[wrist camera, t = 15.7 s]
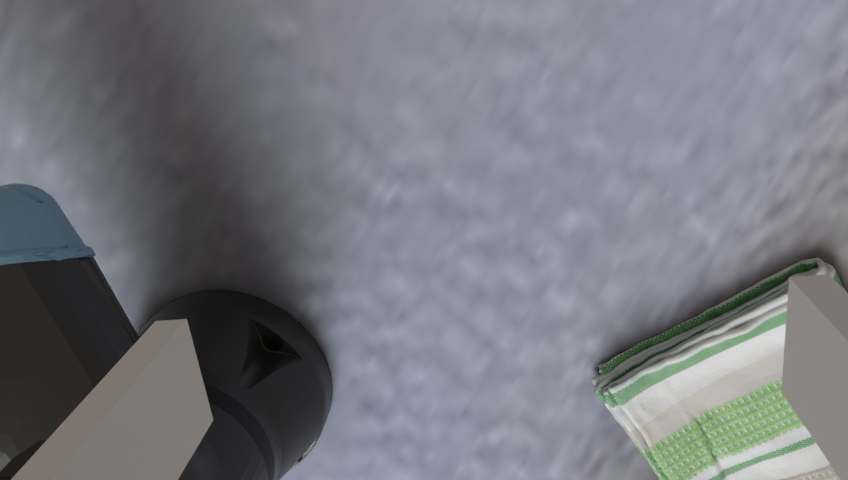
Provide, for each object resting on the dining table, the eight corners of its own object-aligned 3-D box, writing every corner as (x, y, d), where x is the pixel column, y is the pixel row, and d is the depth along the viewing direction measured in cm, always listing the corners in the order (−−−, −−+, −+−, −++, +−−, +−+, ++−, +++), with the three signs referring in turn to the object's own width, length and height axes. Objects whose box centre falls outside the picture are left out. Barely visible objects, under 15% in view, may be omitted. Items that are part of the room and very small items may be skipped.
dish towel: (820, 244, 46) (843, 267, 43) (959, 495, 52) (990, 531, 49) (583, 365, 52) (588, 393, 48) (734, 581, 57) (748, 619, 54)
